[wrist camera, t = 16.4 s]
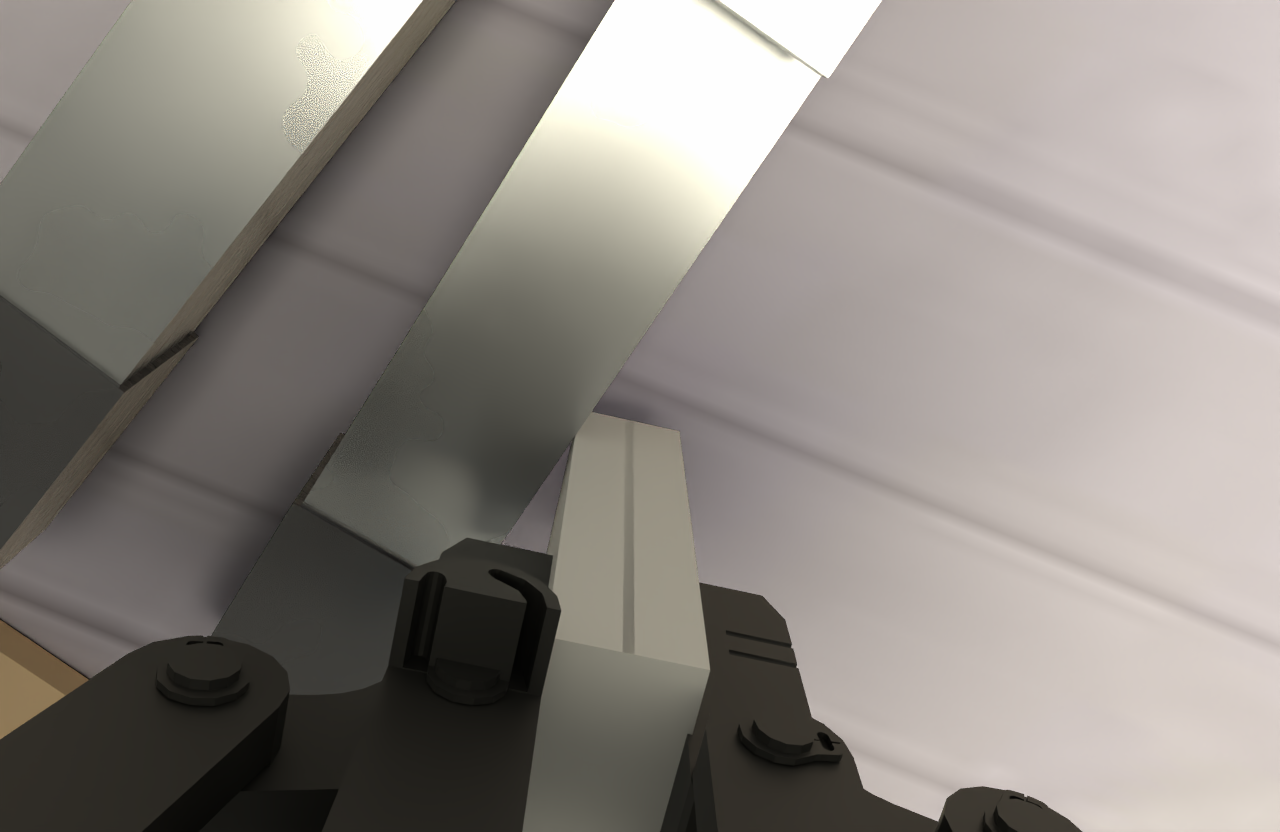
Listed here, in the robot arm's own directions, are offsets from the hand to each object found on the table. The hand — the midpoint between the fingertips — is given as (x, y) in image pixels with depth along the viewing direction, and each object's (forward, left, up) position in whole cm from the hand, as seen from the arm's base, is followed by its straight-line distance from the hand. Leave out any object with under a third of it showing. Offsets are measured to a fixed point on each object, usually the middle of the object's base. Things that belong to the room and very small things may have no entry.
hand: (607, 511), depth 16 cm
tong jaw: (-3, +2, -1) cm, 4 cm away
